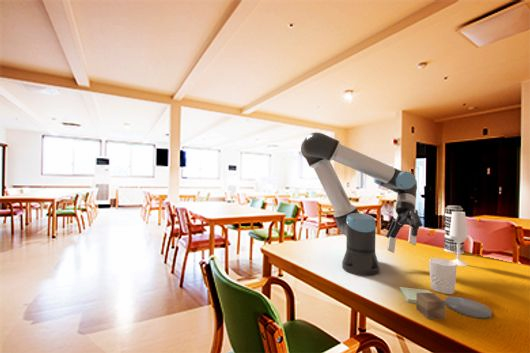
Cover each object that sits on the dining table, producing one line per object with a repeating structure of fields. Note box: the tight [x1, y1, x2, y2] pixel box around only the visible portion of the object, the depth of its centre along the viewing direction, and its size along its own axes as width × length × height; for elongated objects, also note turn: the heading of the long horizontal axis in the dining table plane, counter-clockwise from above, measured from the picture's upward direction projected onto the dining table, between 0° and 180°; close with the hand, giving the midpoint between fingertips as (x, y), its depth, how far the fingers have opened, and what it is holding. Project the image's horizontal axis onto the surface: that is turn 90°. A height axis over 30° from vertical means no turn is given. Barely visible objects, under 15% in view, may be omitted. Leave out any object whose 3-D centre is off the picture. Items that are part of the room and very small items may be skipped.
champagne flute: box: [449, 211, 469, 267], centre depth 112 cm, size 7×7×24 cm
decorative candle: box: [442, 204, 465, 255], centre depth 132 cm, size 9×9×25 cm
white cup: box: [428, 257, 458, 295], centre depth 85 cm, size 8×8×10 cm
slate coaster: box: [444, 296, 493, 319], centre depth 73 cm, size 11×11×1 cm
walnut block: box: [416, 292, 447, 320], centre depth 70 cm, size 5×5×5 cm
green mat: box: [399, 286, 432, 304], centre depth 79 cm, size 9×9×1 cm
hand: (400, 247), depth 100 cm, fingers open, 13 cm apart
